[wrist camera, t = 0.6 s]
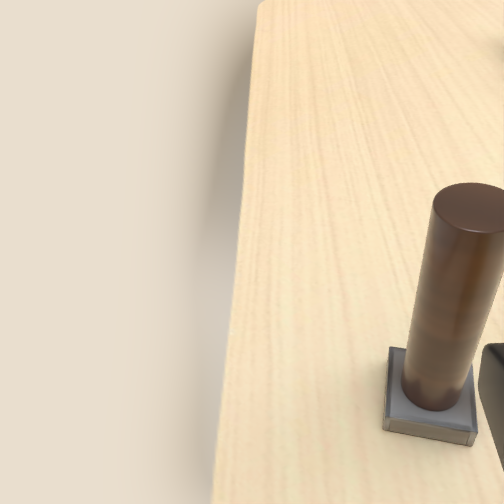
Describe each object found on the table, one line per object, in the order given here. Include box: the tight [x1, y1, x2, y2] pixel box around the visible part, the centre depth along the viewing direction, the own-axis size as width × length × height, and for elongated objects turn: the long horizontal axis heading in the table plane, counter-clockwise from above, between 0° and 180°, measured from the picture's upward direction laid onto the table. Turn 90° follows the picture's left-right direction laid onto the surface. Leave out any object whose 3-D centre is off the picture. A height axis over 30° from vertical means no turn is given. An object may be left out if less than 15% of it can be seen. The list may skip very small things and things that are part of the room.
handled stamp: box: [383, 183, 504, 446], centre depth 21 cm, size 4×4×14 cm
